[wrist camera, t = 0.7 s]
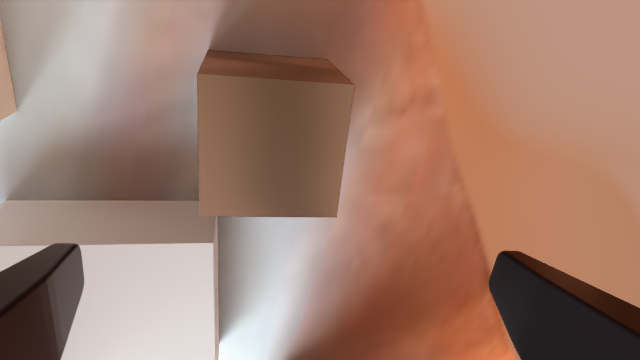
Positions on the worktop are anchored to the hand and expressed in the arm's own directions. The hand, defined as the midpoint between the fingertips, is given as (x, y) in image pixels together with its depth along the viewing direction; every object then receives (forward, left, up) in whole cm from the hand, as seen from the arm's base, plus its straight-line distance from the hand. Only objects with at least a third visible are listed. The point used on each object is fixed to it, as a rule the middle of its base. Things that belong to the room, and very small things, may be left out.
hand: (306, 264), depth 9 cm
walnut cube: (0, 0, -11) cm, 11 cm away
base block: (-7, -9, -12) cm, 16 cm away
